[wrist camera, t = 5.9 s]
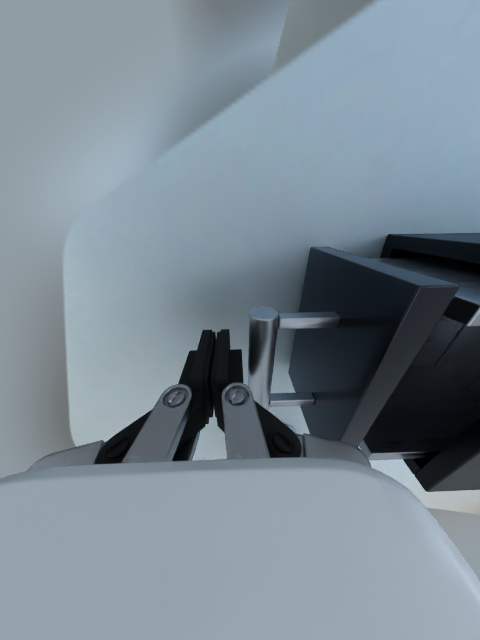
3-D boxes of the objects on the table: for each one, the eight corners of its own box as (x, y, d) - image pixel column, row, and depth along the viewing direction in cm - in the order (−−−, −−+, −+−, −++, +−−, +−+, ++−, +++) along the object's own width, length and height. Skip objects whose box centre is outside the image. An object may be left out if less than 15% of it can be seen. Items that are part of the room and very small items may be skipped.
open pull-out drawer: (244, 373, 17) (250, 475, 10) (244, 247, 11) (259, 289, 5) (423, 368, 17) (543, 463, 11) (510, 243, 12) (887, 276, 5)
